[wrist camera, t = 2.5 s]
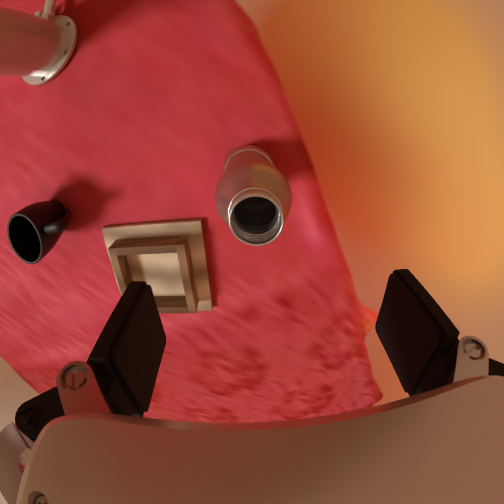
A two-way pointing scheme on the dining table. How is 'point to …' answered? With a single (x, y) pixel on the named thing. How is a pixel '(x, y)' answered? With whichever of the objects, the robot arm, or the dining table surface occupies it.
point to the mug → (37, 229)
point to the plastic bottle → (253, 196)
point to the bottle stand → (163, 262)
